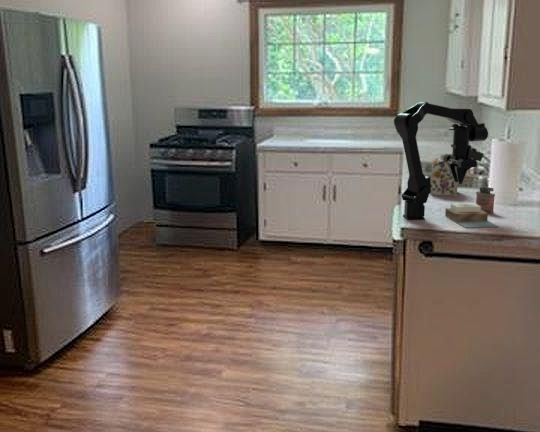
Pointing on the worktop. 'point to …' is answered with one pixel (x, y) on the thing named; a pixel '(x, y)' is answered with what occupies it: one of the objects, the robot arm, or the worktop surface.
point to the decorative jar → (442, 179)
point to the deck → (466, 215)
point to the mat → (476, 224)
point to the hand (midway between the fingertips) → (458, 183)
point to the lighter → (485, 199)
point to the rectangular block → (466, 207)
